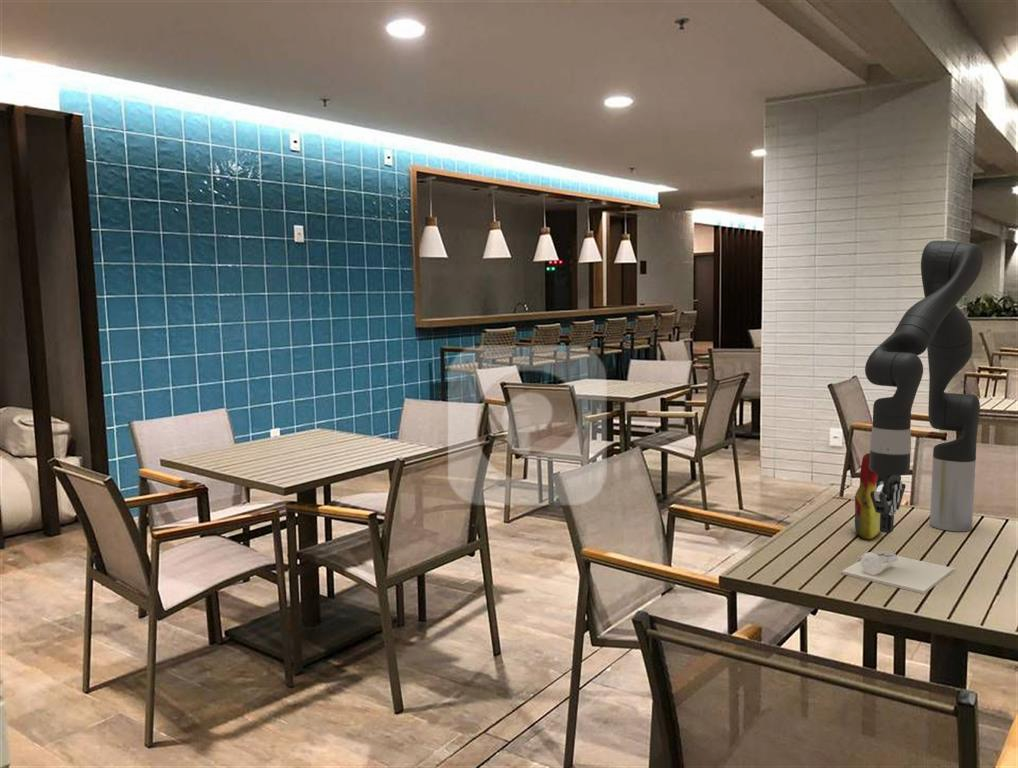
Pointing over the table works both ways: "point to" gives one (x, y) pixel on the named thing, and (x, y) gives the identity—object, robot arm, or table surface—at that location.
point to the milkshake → (878, 561)
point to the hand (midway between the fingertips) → (886, 531)
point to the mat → (905, 574)
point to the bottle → (866, 503)
